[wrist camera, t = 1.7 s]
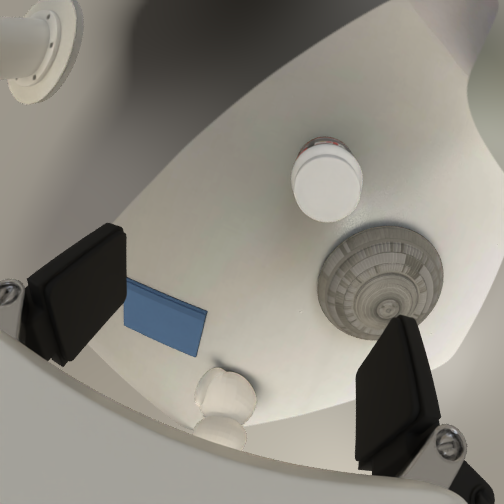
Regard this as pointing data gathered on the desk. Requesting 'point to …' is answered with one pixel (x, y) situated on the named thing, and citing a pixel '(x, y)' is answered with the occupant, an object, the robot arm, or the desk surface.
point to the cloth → (163, 318)
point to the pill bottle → (326, 180)
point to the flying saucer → (379, 280)
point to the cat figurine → (224, 407)
